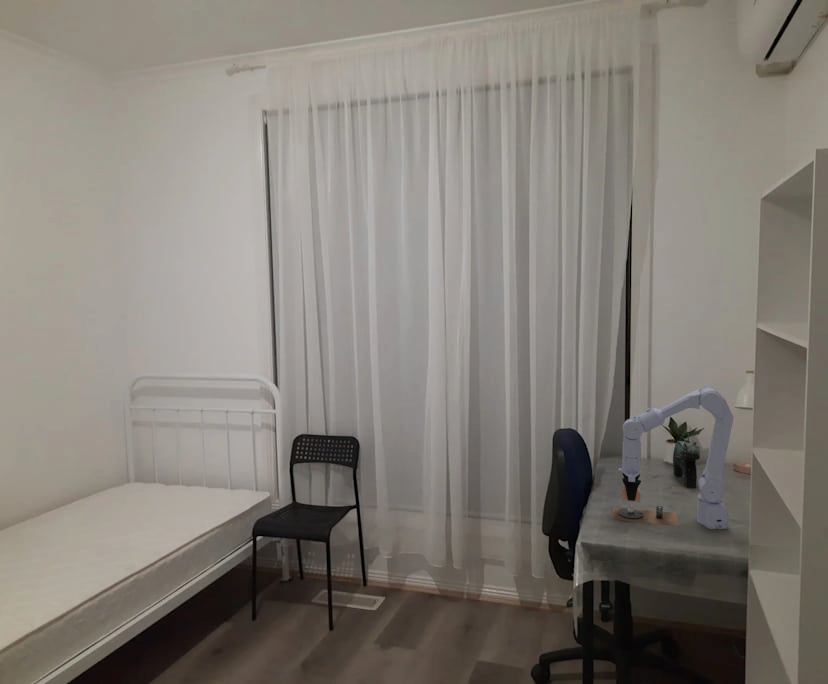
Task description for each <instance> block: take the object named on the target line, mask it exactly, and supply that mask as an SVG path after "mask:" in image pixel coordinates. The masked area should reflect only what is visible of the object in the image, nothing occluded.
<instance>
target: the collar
mask: <svg viewBox="0 0 828 684" xmlns="http://www.w3.org/2000/svg"><path fill="white" fill-rule="evenodd" d="M622 501H623V502H634V503H641V488H640V487H638V489H637V493H636V498H635V501H631V500H628V499H627V493H626V488H625V486H622Z"/></svg>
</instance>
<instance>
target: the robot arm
mask: <svg viewBox="0 0 828 684" xmlns="http://www.w3.org/2000/svg"><path fill="white" fill-rule="evenodd" d="M700 406H701V407H702V408H703V409H704V410H705V411H707V412H708V413H710V414H711V415H712V417H713V418H714V420H715V421H714V425H713V430H712V434H711V435H712V436H711V440H710V444H709V449H708V454H707V458H706V459H707V460H706V464H705V467H704V469H703V473H702V475H701V476H700V477H699V478H698V479H697V480H698V481H697V487H698V488H699V491H700V492H699V494H698V495H697V501H696V502H697V505H696V506H697V507H696V508H697V509H696V521H697V523H698V524H699V525H703V527H705V528H707V529H709V530H723V529H729V511H728V508H727V507H726V506H725V505H724V499H723V496H724V489H723V470H724V465H725V461H726V456H727V451H728V446H729V442H730V437H731V433H732V427H733V423H734V415H733V412H732V410H731V409H730V407H729V405H728V402H727V399H725V398H724V396H722V394H721V393H720V392H719V391H718V390H717V389H715V387H713V386H703V387H701V388H700V389H697V390H693V391H691V392H689V393H687V394H685V395H684V396H681V397H680V398H678V399H676V400H675V401H672V402H671V403H669V404H667V405H665V406H663V407H662V408H661V407H660V408H656V407H653V408H650V407H648V408H647V409H646V411H644V412H643V413H641V414H638V415H633V416H632V418H628V419H626V420H625V421H624V423H623V425H622V427H621V428H622V433H623V437H622V440H623V441H622V453H621V454H622V456H621V457H622V460H621V462H622V463H621V465H622V466H621V467H619V468H618V472H619V473H620V472H621V473H622V475H623V477H622V484H623V485H624V487H625V488H626V493H627V499H628V500H631V501H630V502H632V501H635V498H636V493H637V489H638V488H639V486H640V485H641V482H642V480H641V479H639V478H640V476H641V474H642V469H641V468H642V442H641V436H642V435H643V433H647V432H650V431H651V430H653V429H655V428H657V427H659V426H662V425H663V424H664V423H665V420H666V419H667V418H670V417H671V416H673V415H676V414H678V413H680V412H683V411H685V410H687V409H689V408H690V409H696V410H697V409H698V410H699V409H700V410H701V407H700Z"/></svg>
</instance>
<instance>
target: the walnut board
mask: <svg viewBox="0 0 828 684" xmlns="http://www.w3.org/2000/svg"><path fill="white" fill-rule="evenodd" d="M621 509H626V508H624V507H613V508H612V520H613V521H622V522H631V523H641V524H653V525H662V526H663V525H665V526H676V527H680V521H679V517H678V513H677V512H668V511H663V518H662V519H658V518H656V510H647V509H646V510H645V509H635V510H639V511H641V512H643V518H640V519H627V518H624V517H621V516H620V515H619V510H621Z"/></svg>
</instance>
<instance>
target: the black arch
mask: <svg viewBox="0 0 828 684" xmlns="http://www.w3.org/2000/svg"><path fill="white" fill-rule="evenodd" d="M685 435H686V436H687V441H686V439H685V437H683V436H681V437H680V438H679V439H678V440H677V441H676V443H675V445H674V449H673V453H672V454H673V455H672V464H673V465H672V467H673V476H674V475H675V476H676V478H683V486H685V487H686V488H687V489H697V483H698V481H697V480H698V476H697V475H698V473H697V471H698V470H697V461H698V460H700V459H701V457H700V455H701V452H700V447H699V445H698V443H697V441H694V440H691V442H690V439H689V438H690V434H689V432H686V433H685ZM682 439H683V440H682ZM675 476H674V477H675ZM682 476H683V477H682Z"/></svg>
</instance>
